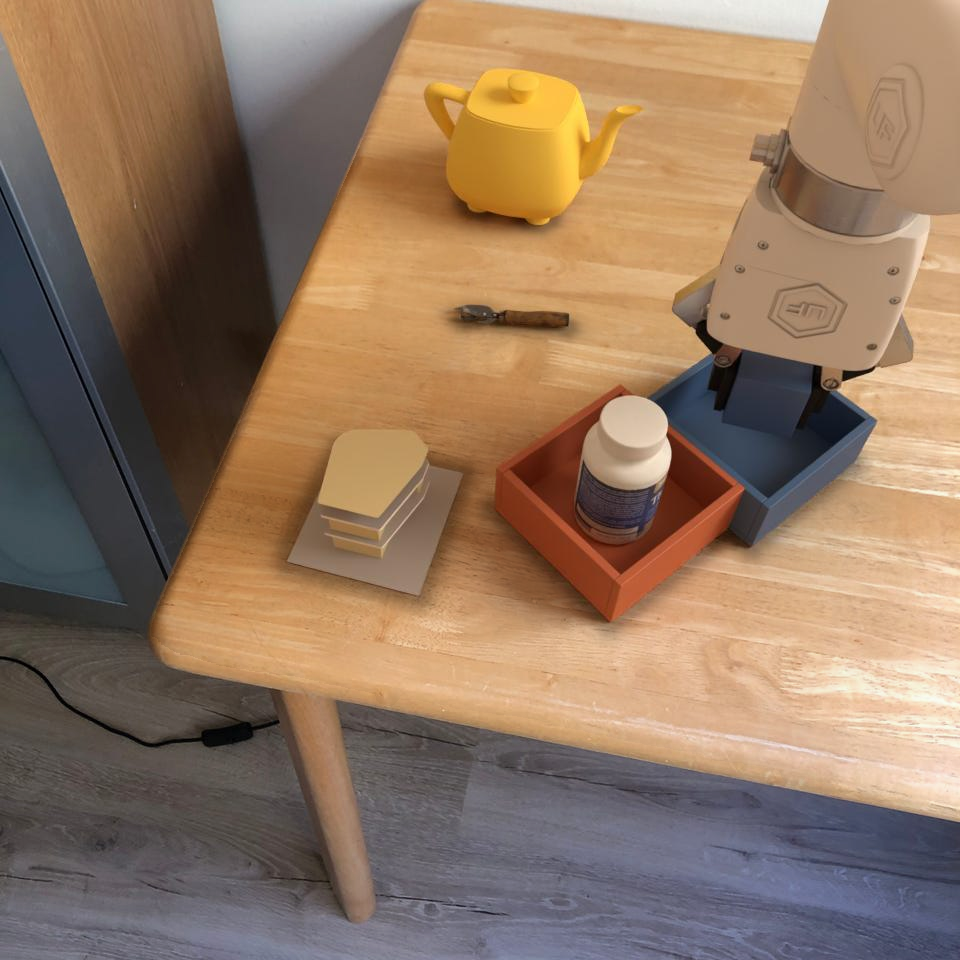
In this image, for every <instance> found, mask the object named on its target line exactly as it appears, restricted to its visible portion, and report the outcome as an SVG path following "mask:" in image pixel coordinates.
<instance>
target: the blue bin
mask: <svg viewBox="0 0 960 960" xmlns="http://www.w3.org/2000/svg"><path fill="white" fill-rule="evenodd" d="M713 359H714V355H713V354H712V353H711V352H710V353H709V354H708V355H706V356H704V357H703V358H702V359H701V360H699V361H697V362H696V363H694V364H693V365H692V366H690V367H689V368H687V369H686V370H684V372H682V373H680V374H679V375H677V376H676V377H675V378H673V379H672V380H670V381H669V382H668V383H666V384H664V385H663V386H662V387H660V388H658V389H657V390H655V392H653V393H652V394H650V395H648V396H647V397H645V398H646V399H648V400H651V401H652V402H654V403H656V404H657V405H658V406H659V407H660V408H661V409H662V410H663V412H664V413H665V415H666V417H667V421H668V425H669V426H672V428H674V429H675V430H676V431H678V432H679V433H680V434H681V436H684V437H685V438H686V439H687V440H688V441H689V442H690V443H692V445H694V446H696V447H697V448H698V450H701V451H702V453H703V454H705V455H706V456H708V458H709V459H711V460H712V461H713V462H714V463H715V464H718V465H719V467H721V468H722V469H723V470H724V471H725V472H727V474H730V476H732V478H735V480H736V481H737V483H740V484H741V485H742V486H743V487H745V489H744V492H743V494H742V496H741V499H740V501H739V504H738V506H737V508H736V511H735V513H734V515H733V518H732V520H731V523H730V525H729V527H728V529H729V531H731V532H732V534H734V535H735V536H737V537H738V538H739V539H740V540H741V541H743V543H745V545H747V546H748V547H749V548H753V547H754V546H756V545H757V544H758V543H760V541H761V540H763V539H764V538H765V537H766V536H768V534H770V533H771V532H773V530H774V529H776V528H777V527H778V526H779V525H780V524H782V523H783V522H784V521H786V519H788V518H789V517H791V516H792V515H793V514H794V513H795V512H796V511H798V510H799V509H800V508H801V507H802V506H803V505H805V504H806V503H807V502H808V501H810V500H811V499H812V498H813V497H815V495H817V494H818V493H819V492H820V491H821V490H823V489H824V488H825V487H826V486H828V485H829V484H830V483H832V481H834V480H835V479H836V478H837V477H839V476H840V475H841V474H842V473H843V472H844V471H846V470H847V469H848V468H850V467H851V466H852V465H853V464H854V463H855V462H856V461H857V460H858V457H859V455H860V454H861V452H862V451H863V449H864V446H865V445H866V443H867V441H868V439H869V438H870V436H871V434H872V433H873V431H874V429H875V428H876V425H877V423H878V419H877V418H875V417H874V416H872V415H871V414H870V413H868V412H867V411H866V410H864V409H863V408H862V407H860V406H858V405H857V404H856V403H855V402H853V401H852V400H850V399H849V398H848V397H846V396H845V395H844V394H842V393H841V392H840V391H838V390H835V391H830V393H829V395H828V397H827V400H826V402H825V404H824V406H823V408H822V410H821V412H820V414H816V413H812V412H811V414H810V417H809V419H808V421H807V423H806V425H805V427H804V429H803V430H801V429H797V428H795V429H794V431H793V433H792V435H791V437H790V438H787V437H783V436H778V435H774V434H769V433H765V432H760V431H756V430H752V429H747V428H743V427H738V426H734V425H729V424H725V423H722V422H721V421H722V416H723V410H722V411H716V410H713V408H714V403H715V397H716V392H717V391H712V390H708V389H707V388H708V383H709V378H710V374H711V371H712V367H713V364H714V362H713Z"/></svg>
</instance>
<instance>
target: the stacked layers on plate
mask: <svg viewBox="0 0 960 960" xmlns="http://www.w3.org/2000/svg"><path fill="white" fill-rule="evenodd" d="M428 453H429V448H428V446H427V445H426V444H425V442H423V440H422V439H421V438H420V436H419V435H418V434H417V433H416V431H414V430H411V429H384V428H383V429H382V428H378V429H377V428H355V429H349V430H347V431H345V432H343V433H342V434H341V435H339V436H338V437H337V438H336V439H335V441H334V442H333V443H332V447H331V451H330V455H329V457H328V461H327V466H326V469H325V473H324V476H323V480H322V484H321V487H320V489H319V491H318V493H317V495H316V497H315V499H314V502H313V503H312V506H311V508H310V509H309V510H310V511H309V512H308V514H307V517H306V519H305V521H304V523H303V525H302V528H301V530H300V532H299V534H298V535H297V538H296V540H295V543H294V545H293V547H292V549H291V552H290V554H289V556H288V558H287V560H286V562H287V563H291V564H295V565H298V566H302V567H305V568H309V569H312V570H318V571H321V572H325V573H330V574H333V575H336V576H341V577H343V578H349V579H353V580H357V581H360V582H363V583H367V584H371V585H375V586H379V587H382V588H386V589H390V590H394V591H397V592H401V593H406V594H409V595H413V596H417V597H419V596H420V595H421V592H422V589H423V586H424V584H425V581H426V578H427V575H428V572H429V570H430V566H431V564H432V561H433V558H434V556H435V553H436V550H437V547H438V544H439V542H440V539H441V536H442V533H443V531H444V528H445V525H446V522H447V520H448V518H449V514H450V512H451V509H452V507H453V504H454V500H455V498H456V496H457V492H458V490H459V487H460V484H461V482H462V480H463V479H462V478H463V476H464V472H461V471H456V470H452V469H447V468H443V467H439V466H434V465H432V464H431V465H430V460H429V459H428V458H427V456H428V455H427V454H428Z"/></svg>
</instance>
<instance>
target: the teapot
mask: <svg viewBox="0 0 960 960" xmlns="http://www.w3.org/2000/svg"><path fill="white" fill-rule="evenodd" d="M423 96H424V98H423V99H424V102H425V105H426V108H427V110H428V112H429V114H430V116H431V117H432V119H433V120H434V122H435V123H436V125H437V127H438V128H439V129H440V131H441V132H442V134H443V135H444V136H445V138H447V140H448V142H449V145H448V150H447V154H446V163H445V177H446V180H447V183H448V185H449V187H450V188H451V190H452V191H453V193H454V194H455V195H456V197H458V198H459V199H460V200H461V201H463V202H464V203H466V206H467V208H468V209H469V210H470V211H472V212H474V213H485V212H490V213H493V214H496V215H502V216H507V217H513V218H522V219H525V220H526V221H527V223H529V224H531V225H533V226H543V225H545V224H548V223H549V221H550V219H552V218H556V217H558V216H560V215H561V214H562V213H563V212H565V210H566V209H567V208H568V207H569V206H570V204H571V203H572V201H574V199H575V197H576V196H577V194H578V192H579V191H580V189H581V187H582V185H583V183H584V180H586V179H588V178H591V177H593V176H594V175H595V174H597V173H598V172H600V171H601V170H602V168H604V166H605V165H606V163H607V162H608V159H609V158H610V155H611V154H612V150H613V147H614V143H615V140H616V138H617V134H618V131H619V129H620V127H622V124H623V123H624V122H625V121H626V120H627V119H629V118H631V117H632V116H635V115H637V114H640V113H641V112H642V111H644V107H643V106H641V105H636V104H626V105H621V106H618V107H615V108H613V109H612V110H611V111H609V112H608V114H606V117H605V118H604V120H603V122H602V125H601V128H600V131H599V134H598V135H597V136H596V137H595V138H594V139H592V140H591V135H590V133H591V132H590V125H589V121H588V117H587V113H586V109H585V105H584V102H583V100H582V97H581V93H580V91H579V89H578V87H576V86H575V85H574V84H573V83H571V82H569V81H567V80H564V79H562V78H559V77H555V76H552V75H549V74H545V73H541V72H537V71H532V70H531V71H530V70H524V69H515V68H514V69H513V68H493V69H489V70H486V71H485V72H483V73H482V74H481V75H480V76H479V78H478V79H477V81H476V82H475V84H474V85H473V87H472V88H471V91H469V90H467V89H465V88H462V87H458V86H456V85H453V84H449V83H446V82H431V83H429V84H427V85H426V87H425V88H424V91H423ZM445 100H448V101H452V102H455V103H458V104H461V105H463V106H462V108H461V111H460V113H459V115H458V118H457V119H456V120H457V121H456V123H455V122H454V121H453V120H452V118H451V116H450V114H449V112H448V110H447V107H446V104H445Z"/></svg>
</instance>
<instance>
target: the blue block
mask: <svg viewBox="0 0 960 960" xmlns="http://www.w3.org/2000/svg"><path fill="white" fill-rule="evenodd" d="M813 369H814V364H810V363H805V362H800V361H795V360H791V359H786V358H781V357H777V356H772V355H768V354H763V353H759V352H754V351H750V350H745V349H743V351H742V352H741V354H740V359H739V365H738V371H737V375H736V378H735V381H734V384H733V387H732V389H731V392H730V395H729V398H728V401H727V403H726V406H725V409H724V410H723V416H722V421H721V422H722V423H725V424H729V425H734V426H738V427H743V428H747V429H752V430H756V431H760V432H765V433H769V434H774V435H778V436H783V437H787V438H790V437H791V435H792V433H793V431H794V429H795V427H796V425H797V422H798V420H799V418H800V416H801V414H802V412H803V409H804V407H805V405H806V403H807V401H808V398H809V396H810V394H811V387H812V378H813Z"/></svg>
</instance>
